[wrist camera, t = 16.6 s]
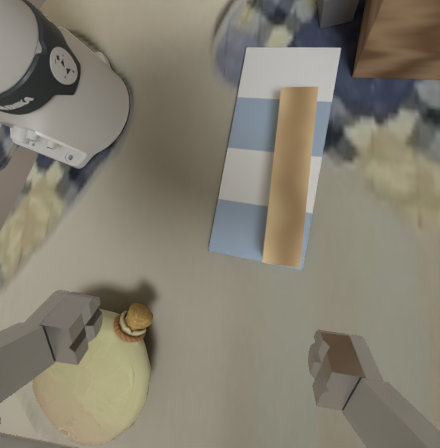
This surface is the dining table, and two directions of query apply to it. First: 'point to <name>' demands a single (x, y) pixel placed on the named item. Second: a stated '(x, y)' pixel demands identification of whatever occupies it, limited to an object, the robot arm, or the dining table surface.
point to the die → (336, 12)
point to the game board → (267, 144)
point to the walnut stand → (399, 40)
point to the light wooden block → (290, 176)
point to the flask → (100, 381)
